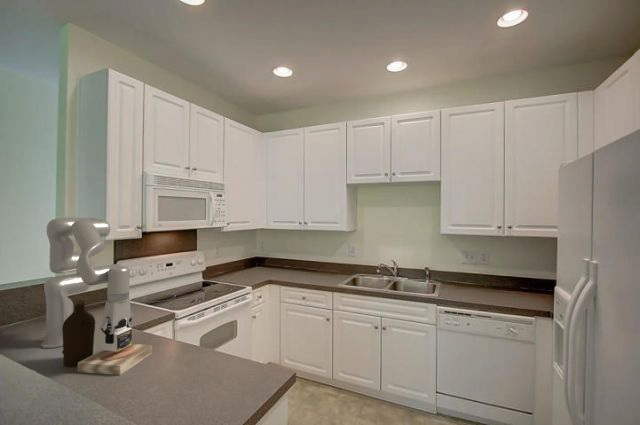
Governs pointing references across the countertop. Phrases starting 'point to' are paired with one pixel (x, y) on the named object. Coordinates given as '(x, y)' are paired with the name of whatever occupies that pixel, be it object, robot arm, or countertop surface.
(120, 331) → the medicine bottle
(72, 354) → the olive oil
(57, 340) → the robot arm
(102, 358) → the stand
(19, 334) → the countertop surface
